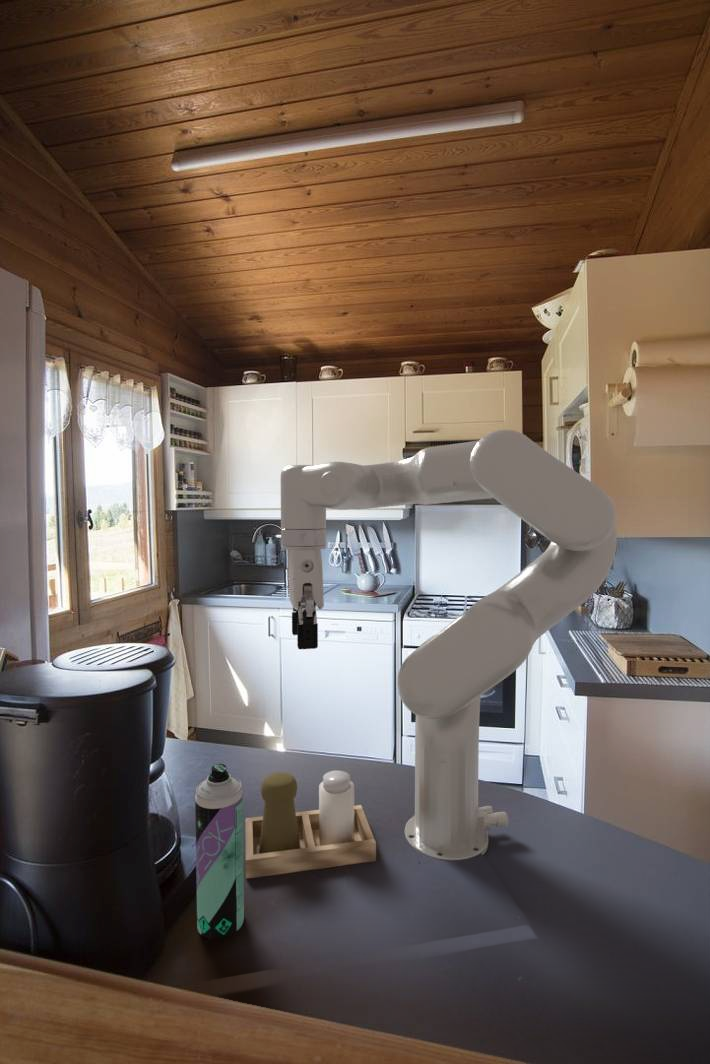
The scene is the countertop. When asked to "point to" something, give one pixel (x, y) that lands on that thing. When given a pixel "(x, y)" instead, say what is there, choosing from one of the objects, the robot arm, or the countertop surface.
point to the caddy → (308, 847)
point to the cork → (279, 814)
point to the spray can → (219, 854)
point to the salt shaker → (336, 809)
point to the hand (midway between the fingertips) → (304, 641)
